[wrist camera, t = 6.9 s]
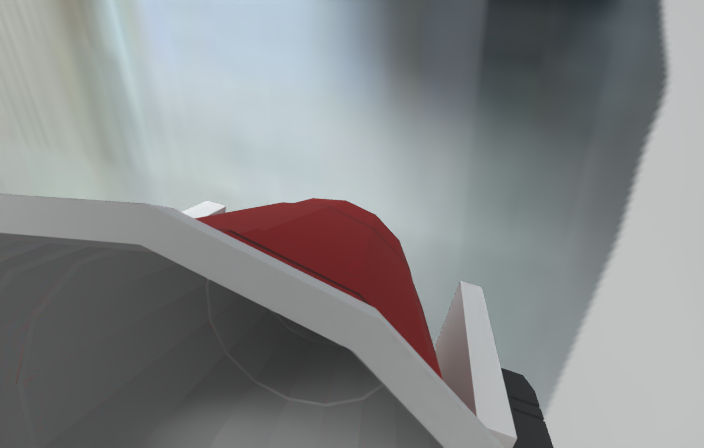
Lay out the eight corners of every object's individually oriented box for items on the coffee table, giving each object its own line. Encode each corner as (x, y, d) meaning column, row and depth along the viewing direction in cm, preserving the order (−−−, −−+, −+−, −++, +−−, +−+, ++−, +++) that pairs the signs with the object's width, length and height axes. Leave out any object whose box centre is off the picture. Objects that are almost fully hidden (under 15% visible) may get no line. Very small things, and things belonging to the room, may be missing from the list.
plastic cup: (551, 247, 14) (1075, 922, 2) (368, 427, 17) (242, 1018, 6) (295, 56, 14) (-395, -165, 2) (168, 279, 17) (-331, 608, 6)
